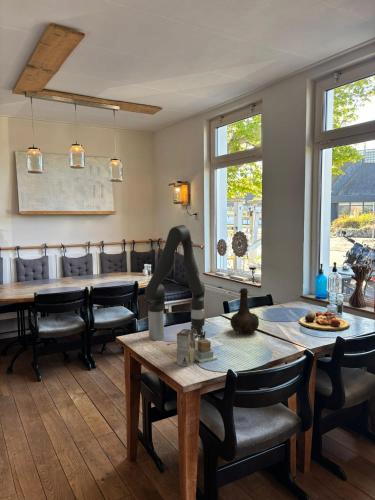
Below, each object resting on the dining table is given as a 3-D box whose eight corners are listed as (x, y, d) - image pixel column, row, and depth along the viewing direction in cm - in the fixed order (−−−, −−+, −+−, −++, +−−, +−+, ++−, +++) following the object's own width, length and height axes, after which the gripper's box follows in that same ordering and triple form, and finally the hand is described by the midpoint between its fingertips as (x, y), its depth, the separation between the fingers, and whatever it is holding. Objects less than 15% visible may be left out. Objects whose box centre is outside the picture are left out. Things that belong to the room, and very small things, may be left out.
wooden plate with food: (357, 331, 239) (358, 318, 238) (306, 331, 239) (306, 318, 239) (338, 318, 271) (339, 307, 270) (293, 318, 271) (294, 307, 271)
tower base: (191, 356, 200) (191, 349, 200) (208, 353, 205) (208, 346, 204) (200, 362, 191) (200, 355, 191) (217, 359, 196) (217, 351, 195)
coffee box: (184, 358, 198) (183, 328, 196) (195, 360, 195) (195, 329, 194) (177, 365, 189) (176, 333, 188) (189, 366, 187) (188, 335, 185)
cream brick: (192, 347, 214) (192, 338, 214) (200, 345, 216) (200, 337, 216) (196, 349, 210) (196, 341, 209) (204, 348, 212) (204, 339, 212)
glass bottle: (258, 337, 230) (258, 291, 227) (229, 335, 234) (229, 291, 231) (259, 328, 247) (259, 286, 245) (231, 327, 251) (231, 285, 248)
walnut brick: (197, 349, 199) (197, 340, 198) (206, 348, 201) (206, 339, 201) (202, 352, 194) (202, 343, 194) (210, 351, 197) (210, 341, 196)
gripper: (186, 314, 216) (186, 343, 218) (197, 320, 203) (197, 351, 205) (198, 313, 220) (198, 341, 221) (209, 318, 207) (210, 349, 208)
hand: (198, 346), depth 213 cm, fingers closed on cream brick, 5 cm apart
